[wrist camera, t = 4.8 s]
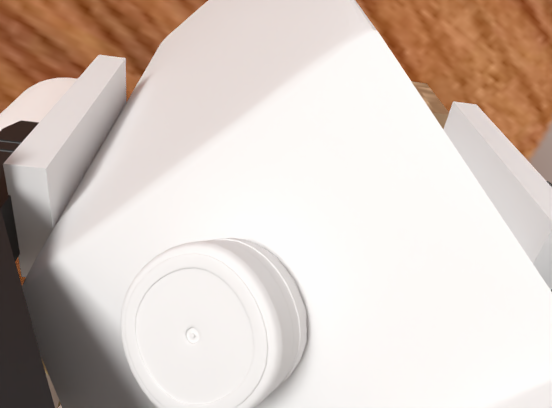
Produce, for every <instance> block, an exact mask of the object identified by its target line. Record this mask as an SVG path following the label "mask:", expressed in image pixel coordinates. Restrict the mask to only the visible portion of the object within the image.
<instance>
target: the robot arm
mask: <svg viewBox="0 0 552 408" xmlns="http://www.w3.org/2000/svg"><path fill="white" fill-rule="evenodd" d="M125 105H126V58H120V57H113V56H105V55H98V56H97V57H96V59H95V60H94V61H93V62H92V63H91V64H90V65H89V67H88V68H87V69H86V70H85V71H84V72H83V73H82V75H81V76H80V77H79V78H78V79H77V80H76V81H75V82H74V84H73V85H72V86H71V87H70V88H69V89H68V90H67V92H66V93H65V94H64V95H63V96H62V97H61V98H60V100H59V101H58V102H57V103H56V104H55V105H54V106H53V108H52V109H51V110H50V111H49V112H48V113H47V114H46V115H45V117H44V118H43V119H42V120H41V121H40V122H31V121H22V120H21V121H18V122H16V123H14V124H12V125H9V126H7V127H5V128H3V129H2V130H1V131H0V408H55V406H54V402H53V398H52V395H51V391H50V388H49V384H48V380H47V377H46V373H45V369H44V366H43V362H42V358H41V355H40V351H39V347H38V344H37V340H36V336H35V333H34V329H33V326H32V322H31V318H30V315H29V311H28V307H27V304H26V300H25V296H24V293H23V289H22V285H21V282H20V278H19V274H18V271H17V267H16V264H15V261H16V259H17V257H19V263H20V269H21V275H22V277H27V274H28V273H29V271H30V269H31V267H32V265H33V263H34V262H35V260H36V258H37V256H38V254H39V253H40V251H41V249H42V247H43V246H44V244H45V242H46V240H47V239H48V237H49V235H50V234H51V232H52V230H53V229H54V227H55V225H56V223H57V222H58V220H59V218H60V217H61V215H62V213H63V211H64V210H65V208H66V206H67V204H68V203H69V201H70V199H71V198H72V196H73V194H74V192H75V191H76V189H77V187H78V186H79V184H80V182H81V180H82V179H83V177H84V175H85V173H86V172H87V170H88V168H89V167H90V165H91V163H92V161H93V160H94V158H95V156H96V154H97V153H98V151H99V149H100V148H101V146H102V144H103V142H104V141H105V139H106V137H107V136H108V134H109V132H110V130H111V129H112V127H113V125H114V123H115V122H116V120H117V118H118V117H119V115H120V113H121V111H122V110H123V108H124V106H125ZM443 130H444V131H445V133H446V134H447V136H448V137H449V139H450V140H451V142H452V143H453V145H454V146H455V148H456V149H457V151H458V152H459V154H460V155H461V157H462V158H463V160H464V161H465V163H466V164H467V166H468V167H469V169H470V170H471V172H472V173H473V175H474V176H475V178H476V179H477V181H478V182H479V184H480V185H481V187H482V188H483V190H484V191H485V193H486V194H487V196H488V197H489V199H490V200H491V202H492V203H493V205H494V206H495V208H496V209H497V211H498V212H499V214H500V215H501V217H502V218H503V220H504V221H505V223H506V224H507V226H508V227H509V229H510V230H511V232H512V233H513V235H514V236H515V238H516V239H517V241H518V242H519V244H520V245H521V247H522V248H523V250H524V251H525V253H526V254H527V256H528V257H529V259H530V260H531V262H532V263H533V265H534V266H535V268H536V269H537V271H538V272H539V274H540V275H541V277H542V278H543V280H544V281H545V283H546V284H547V286H548V287H549V289H550V290H551V292H552V184H551V183H550V182H548V181H546V180H545V179H544V178H543V177H542V176H541V175H540V174H539V173H538V172H537V171H536V169H535V168H533V166H532V165H531V164H530V163H529V162H528V161H527V160H526V158H525V157H524V156H523V155H522V154H521V153H520V152H519V151H518V150H517V149H516V147H515V146H514V145H513V144H512V143H511V142H510V141H509V140H508V139H507V138H506V137H505V135H504V134H503V133H502V132H501V131H500V130H499V129H498V128H497V127H496V126H495V124H494V123H493V122H492V121H491V120H490V119H489V118H488V117H487V116H486V115H485V113H484V112H483V111H482V110H481V109H480V108H479V107H478V106H477V105H476V104H468V103H461V102H453V103H452V106H451V109H450V112H449V115H448V118H447V120H446V123H445V126H444V129H443Z"/></svg>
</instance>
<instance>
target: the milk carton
mask: <svg viewBox="0 0 552 408" xmlns="http://www.w3.org/2000/svg"><path fill="white" fill-rule="evenodd" d="M22 289H23V293H24V296H25V300H26V304H27V307H28V311H29V315H30V318H31V322H32V326H33V329H34V333H35V336H36V340H37V344H38V347H39V351H40V355H41V358H42V360H43V362H44V365H45V367H46V370H47V372H48V374H49V377H50V379H51V382H52V384H53V386H54V389H55V391H56V393H57V396H58V398H59V401H60V403H61V405H62V408H552V292H551V290H550V289H549V287H548V286H547V284H546V283H545V281H544V280H543V278H542V277H541V275H540V274H539V272H538V271H537V269H536V268H535V266H534V265H533V263H532V262H531V260H530V259H529V257H528V256H527V254H526V253H525V251H524V250H523V248H522V247H521V245H520V244H519V242H518V241H517V239H516V238H515V236H514V235H513V233H512V232H511V230H510V229H509V227H508V226H507V224H506V223H505V221H504V220H503V218H502V217H501V215H500V214H499V212H498V211H497V209H496V208H495V206H494V205H493V203H492V202H491V200H490V199H489V197H488V196H487V194H486V193H485V191H484V190H483V188H482V187H481V185H480V184H479V182H478V181H477V179H476V178H475V176H474V175H473V173H472V172H471V170H470V169H469V167H468V166H467V164H466V163H465V161H464V160H463V158H462V157H461V155H460V154H459V152H458V151H457V149H456V148H455V146H454V145H453V143H452V142H451V140H450V139H449V137H448V136H447V134H446V133H445V131H444V130H443V128H442V127H441V125H440V124H439V122H438V121H437V119H436V118H435V116H434V115H433V113H432V112H431V110H430V109H429V107H428V106H427V104H426V103H425V101H424V100H423V98H422V97H421V95H420V94H419V92H418V91H417V89H416V88H415V87H414V85H413V84H412V82H411V81H410V79H409V78H408V76H407V75H406V73H405V72H404V70H403V69H402V67H401V66H400V64H399V63H398V61H397V60H396V58H395V57H394V55H393V54H392V52H391V51H390V49H389V48H388V46H387V45H386V43H385V42H384V40H383V39H382V37H381V36H380V34H379V33H378V31H377V30H376V29H375V27H374V26H373V24H372V23H371V22H370V20H369V19H368V17H367V16H366V15H365V13H364V12H363V10H362V9H361V8H360V6H359V5H358V3H357V2H356V1H355V0H208V1H207V2H206V3H205V4H204V5H203V6H201V7H200V8H199V9H198V10H197V11H196V12H194V13H193V14H192V15H191V16H190V17H189V18H188V19H186V20H185V21H184V22H183V23H182V24H181V25H180V26H178V27H177V28H176V29H175V30H174V31H173V32H172V33H170V34H169V35H168V36H167V37H166V38H165V39H164V40H163V41H162V43H161V44H160V46H159V48H158V49H157V51H156V53H155V54H154V56H153V58H152V60H151V61H150V63H149V65H148V67H147V68H146V70H145V72H144V73H143V75H142V77H141V79H140V80H139V82H138V84H137V85H136V87H135V89H134V91H133V92H132V94H131V96H130V98H129V99H128V101H127V103H126V105H125V106H124V108H123V110H122V111H121V113H120V115H119V117H118V118H117V120H116V122H115V123H114V125H113V127H112V129H111V130H110V132H109V134H108V136H107V137H106V139H105V141H104V142H103V144H102V146H101V148H100V149H99V151H98V153H97V154H96V156H95V158H94V160H93V161H92V163H91V165H90V167H89V168H88V170H87V172H86V173H85V175H84V177H83V179H82V180H81V182H80V184H79V186H78V187H77V189H76V191H75V192H74V194H73V196H72V198H71V199H70V201H69V203H68V204H67V206H66V208H65V210H64V211H63V213H62V215H61V217H60V218H59V220H58V222H57V223H56V225H55V227H54V229H53V230H52V232H51V234H50V235H49V237H48V239H47V240H46V242H45V244H44V246H43V247H42V249H41V251H40V253H39V254H38V256H37V258H36V260H35V262H34V263H33V265H32V267H31V269H30V271H29V273H28V274H27V277H26V279H25V281H24V284H23V286H22Z"/></svg>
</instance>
